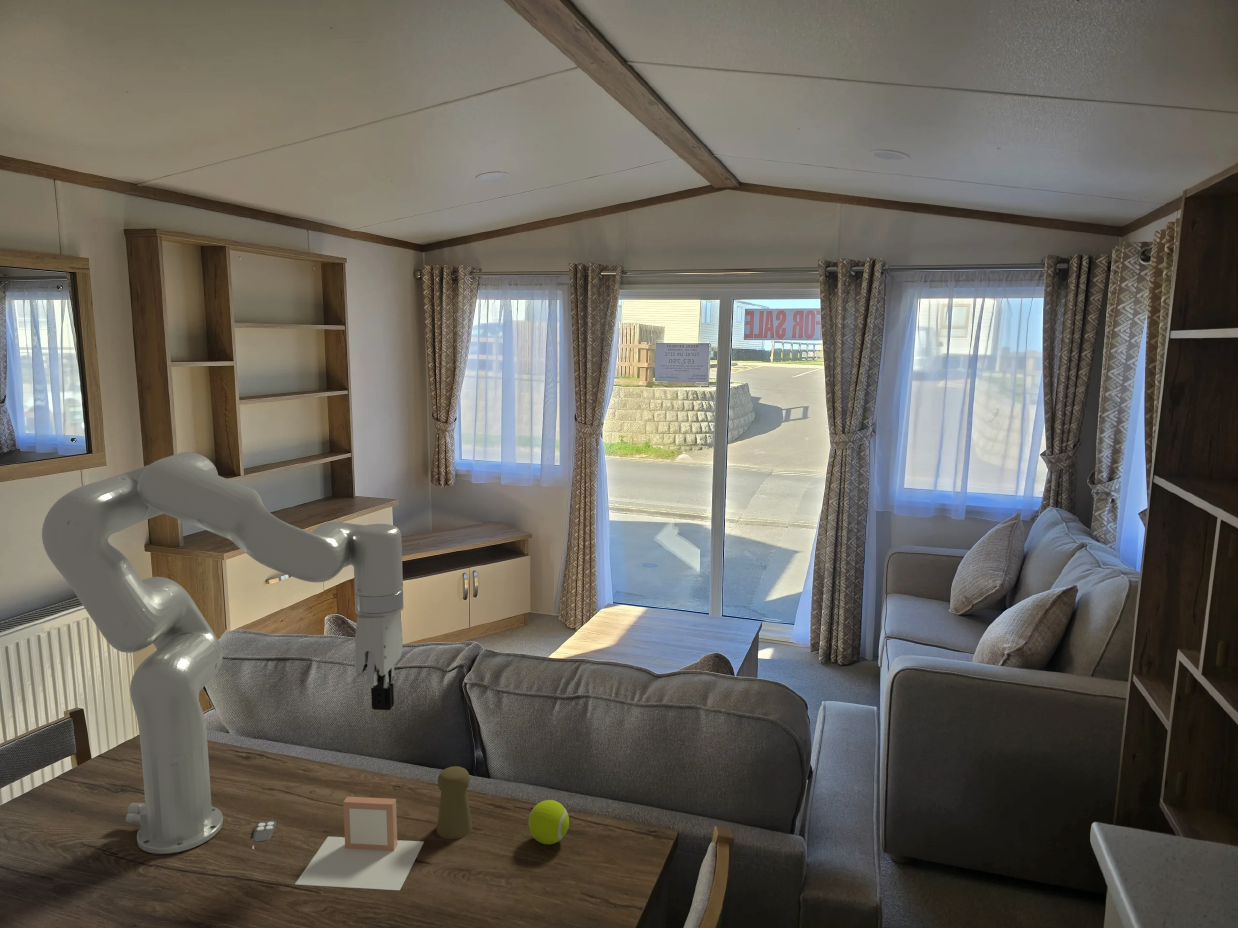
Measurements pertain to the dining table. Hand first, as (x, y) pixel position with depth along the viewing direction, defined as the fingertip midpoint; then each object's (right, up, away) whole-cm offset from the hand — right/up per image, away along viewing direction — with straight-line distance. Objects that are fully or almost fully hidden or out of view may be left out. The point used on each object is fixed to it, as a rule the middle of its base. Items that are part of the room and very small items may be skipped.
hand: (383, 707), depth 137 cm
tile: (-1, -21, -4) cm, 22 cm away
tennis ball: (+27, -22, -1) cm, 35 cm away
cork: (+12, -21, +1) cm, 24 cm away
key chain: (-19, -22, -3) cm, 29 cm away
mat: (-1, -22, -8) cm, 24 cm away
